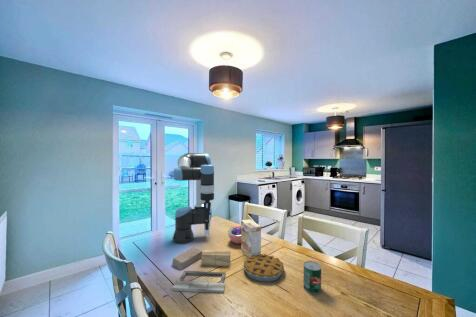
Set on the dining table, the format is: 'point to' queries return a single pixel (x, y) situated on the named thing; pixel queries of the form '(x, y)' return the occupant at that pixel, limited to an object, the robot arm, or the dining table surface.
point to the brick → (187, 258)
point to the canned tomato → (312, 277)
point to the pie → (263, 267)
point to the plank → (215, 258)
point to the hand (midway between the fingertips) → (207, 230)
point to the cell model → (235, 234)
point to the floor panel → (200, 283)
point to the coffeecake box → (250, 237)
